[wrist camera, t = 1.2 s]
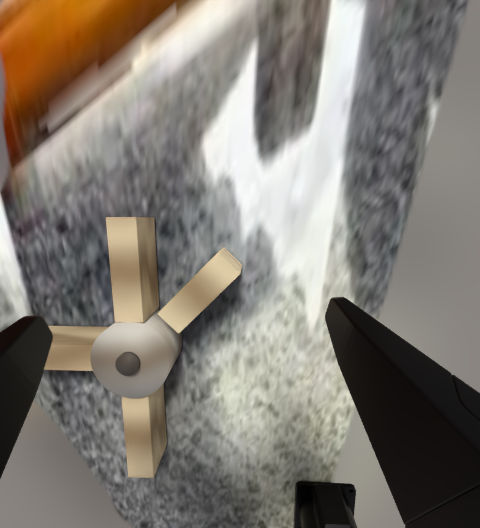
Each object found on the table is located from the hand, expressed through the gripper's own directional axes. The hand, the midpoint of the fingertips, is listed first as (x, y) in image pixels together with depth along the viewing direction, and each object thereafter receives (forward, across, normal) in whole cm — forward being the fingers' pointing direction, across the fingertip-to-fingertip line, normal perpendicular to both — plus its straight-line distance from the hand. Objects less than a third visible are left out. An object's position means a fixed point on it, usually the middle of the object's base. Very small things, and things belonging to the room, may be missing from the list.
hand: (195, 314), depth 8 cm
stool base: (+13, +11, +17) cm, 24 cm away
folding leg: (+14, 0, +10) cm, 17 cm away
